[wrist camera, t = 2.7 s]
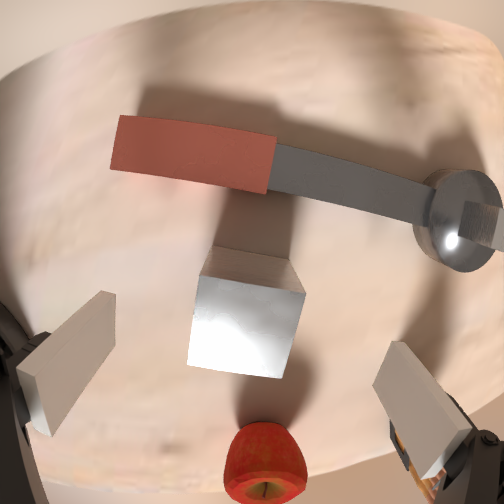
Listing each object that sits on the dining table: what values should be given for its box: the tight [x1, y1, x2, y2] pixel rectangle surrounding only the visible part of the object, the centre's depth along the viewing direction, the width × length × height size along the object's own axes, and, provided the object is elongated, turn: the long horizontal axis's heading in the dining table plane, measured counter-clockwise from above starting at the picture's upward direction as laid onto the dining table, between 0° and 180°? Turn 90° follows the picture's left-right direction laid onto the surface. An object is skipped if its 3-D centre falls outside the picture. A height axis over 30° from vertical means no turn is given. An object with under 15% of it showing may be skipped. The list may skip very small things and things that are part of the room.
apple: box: [224, 422, 308, 504], centre depth 20 cm, size 6×6×8 cm
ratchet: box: [110, 115, 504, 272], centre depth 16 cm, size 26×7×6 cm, turn 79°
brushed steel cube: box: [188, 245, 306, 379], centre depth 18 cm, size 5×5×6 cm
